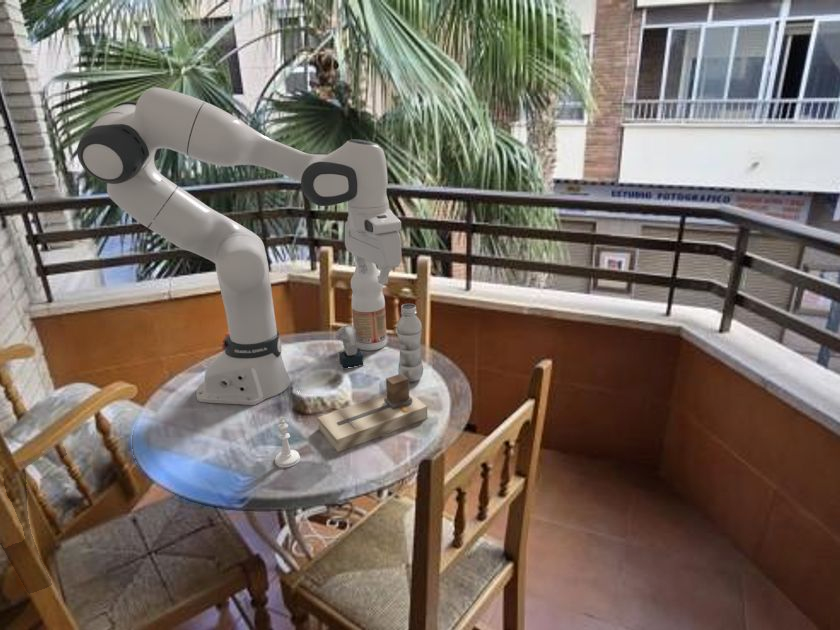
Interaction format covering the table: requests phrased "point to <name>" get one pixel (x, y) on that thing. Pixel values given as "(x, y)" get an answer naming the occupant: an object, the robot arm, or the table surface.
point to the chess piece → (286, 448)
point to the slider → (397, 391)
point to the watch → (349, 347)
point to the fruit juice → (368, 309)
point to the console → (368, 421)
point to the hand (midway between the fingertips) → (372, 278)
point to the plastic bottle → (410, 343)
